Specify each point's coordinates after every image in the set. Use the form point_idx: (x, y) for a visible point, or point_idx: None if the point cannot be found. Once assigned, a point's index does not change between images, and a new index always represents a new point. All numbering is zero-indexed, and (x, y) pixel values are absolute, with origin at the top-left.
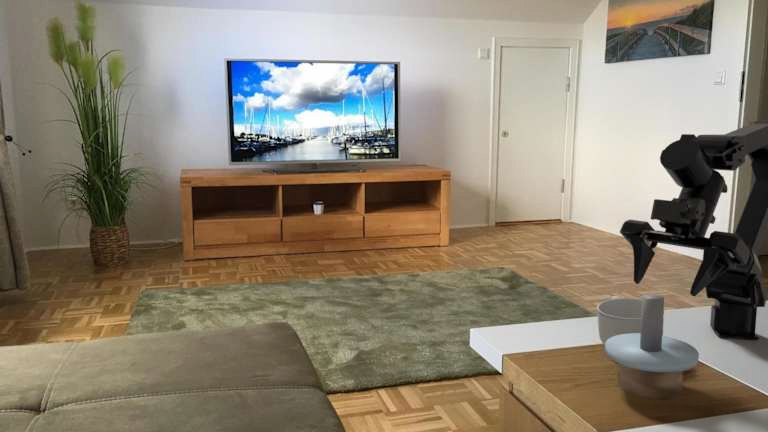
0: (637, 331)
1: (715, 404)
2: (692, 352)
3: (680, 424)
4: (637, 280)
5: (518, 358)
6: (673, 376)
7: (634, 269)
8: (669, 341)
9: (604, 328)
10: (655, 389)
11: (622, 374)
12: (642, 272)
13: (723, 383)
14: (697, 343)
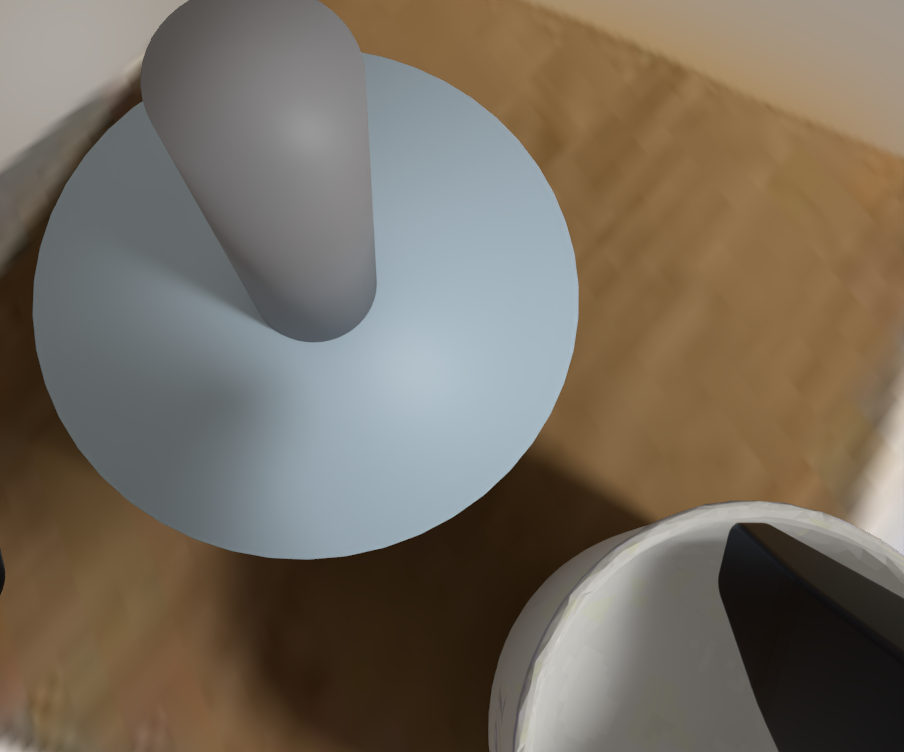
0: (566, 576)
1: (27, 383)
2: (93, 401)
3: (75, 117)
4: (738, 556)
5: (898, 193)
6: None
7: (895, 599)
8: (284, 475)
9: None
10: None
11: None
12: (803, 711)
13: (77, 650)
14: None
